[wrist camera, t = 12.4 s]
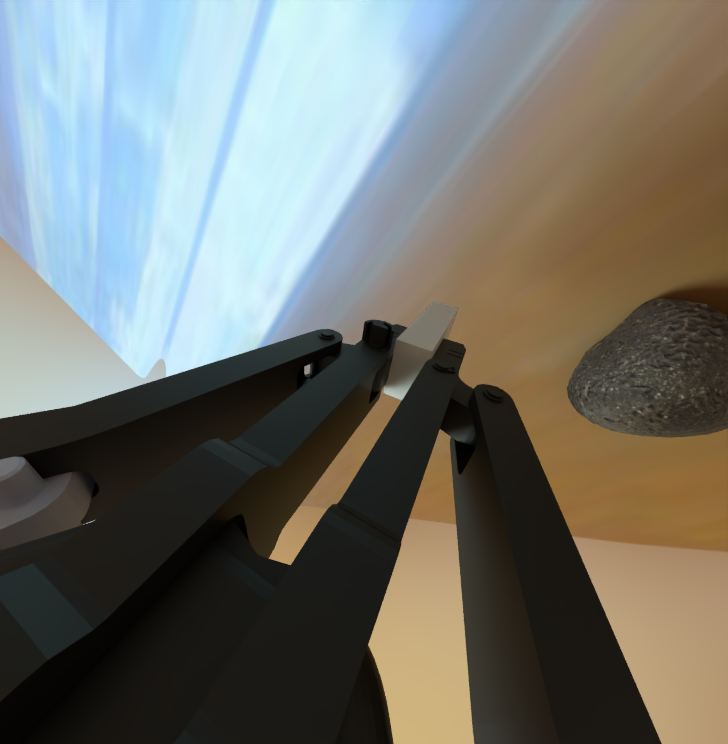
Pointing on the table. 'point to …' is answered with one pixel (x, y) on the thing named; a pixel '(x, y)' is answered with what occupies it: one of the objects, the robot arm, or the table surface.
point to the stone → (658, 372)
